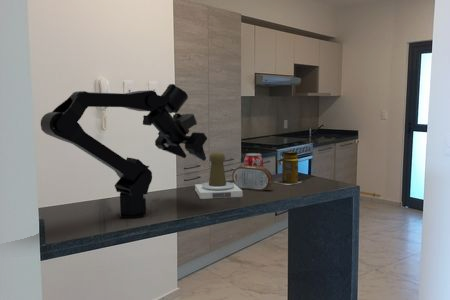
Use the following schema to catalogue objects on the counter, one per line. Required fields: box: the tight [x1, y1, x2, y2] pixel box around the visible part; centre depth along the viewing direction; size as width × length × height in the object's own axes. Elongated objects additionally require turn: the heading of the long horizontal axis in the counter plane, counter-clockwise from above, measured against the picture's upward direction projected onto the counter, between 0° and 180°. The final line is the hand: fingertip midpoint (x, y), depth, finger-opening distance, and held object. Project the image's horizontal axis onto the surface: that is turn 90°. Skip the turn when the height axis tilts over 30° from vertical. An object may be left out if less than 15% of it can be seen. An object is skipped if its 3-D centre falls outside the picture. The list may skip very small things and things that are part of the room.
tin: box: [231, 164, 274, 192], centre depth 147 cm, size 15×3×8 cm, turn 61°
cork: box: [208, 152, 227, 187], centre depth 140 cm, size 6×6×11 cm
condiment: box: [275, 150, 302, 186], centre depth 159 cm, size 7×8×12 cm
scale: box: [194, 181, 243, 200], centre depth 140 cm, size 14×14×3 cm
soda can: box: [243, 152, 264, 167], centre depth 152 cm, size 7×7×12 cm
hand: (194, 158), depth 129 cm, fingers open, 9 cm apart
